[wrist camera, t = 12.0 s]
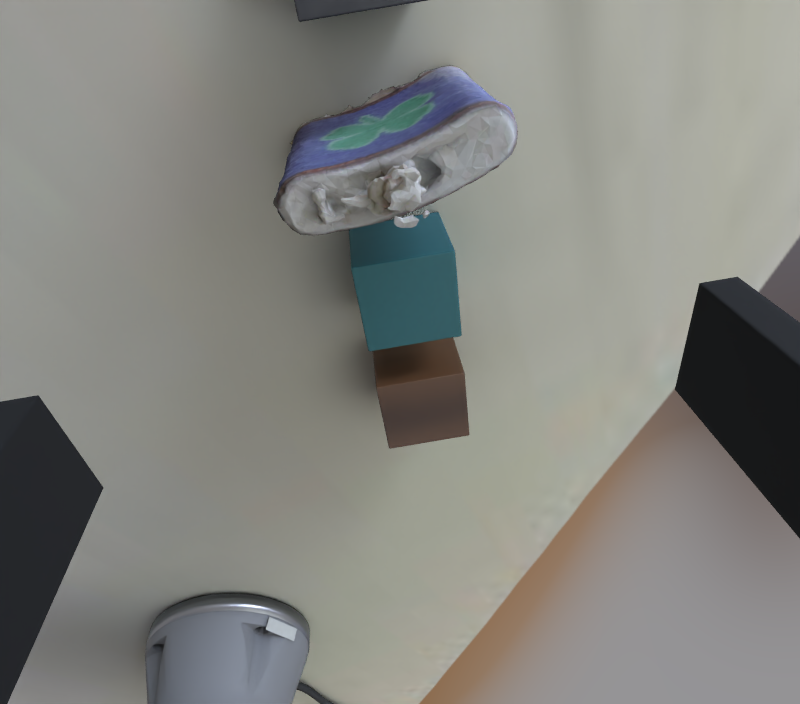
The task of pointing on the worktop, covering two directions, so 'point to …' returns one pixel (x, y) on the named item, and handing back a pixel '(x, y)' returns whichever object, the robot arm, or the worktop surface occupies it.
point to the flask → (393, 154)
